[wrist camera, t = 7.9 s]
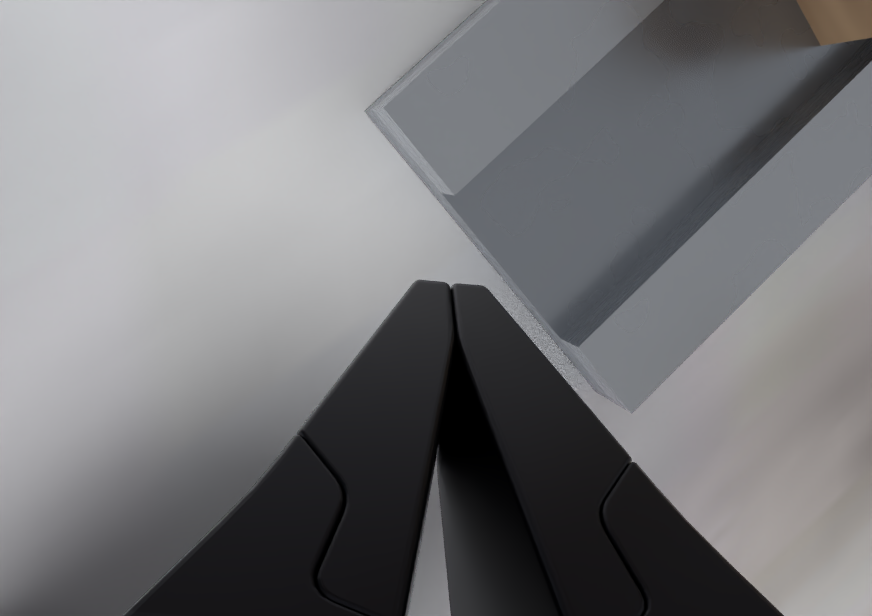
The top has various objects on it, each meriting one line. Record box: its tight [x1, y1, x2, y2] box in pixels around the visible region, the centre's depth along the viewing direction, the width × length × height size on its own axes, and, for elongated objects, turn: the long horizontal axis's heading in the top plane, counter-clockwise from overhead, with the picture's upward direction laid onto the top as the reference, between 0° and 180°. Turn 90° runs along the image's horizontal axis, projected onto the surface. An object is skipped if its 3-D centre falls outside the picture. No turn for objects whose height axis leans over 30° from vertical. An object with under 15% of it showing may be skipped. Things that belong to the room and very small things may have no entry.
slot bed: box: [365, 0, 872, 413], centre depth 24 cm, size 18×12×2 cm, turn 130°
